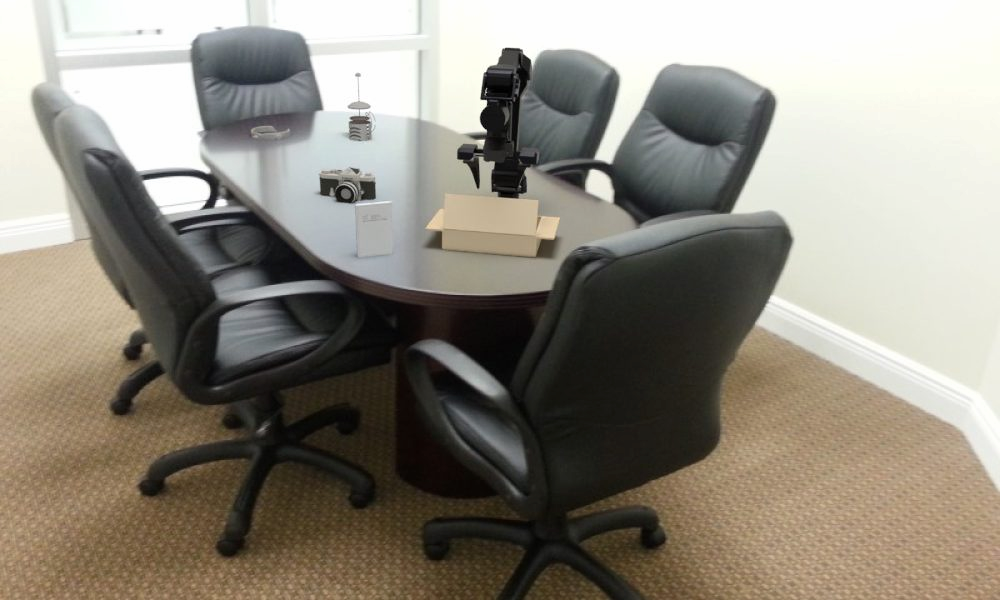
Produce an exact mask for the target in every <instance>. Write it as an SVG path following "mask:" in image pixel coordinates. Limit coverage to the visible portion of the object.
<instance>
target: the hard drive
mask: <svg viewBox="0 0 1000 600" xmlns="http://www.w3.org/2000/svg"><path fill="white" fill-rule="evenodd" d="M354 209H355V210H354V211H355V213H354V214H355V231H356V234H355V235H356V254H357V255H356V256H357V258H367V257H375V256H382V255H392V254H394V230H393V228H394V227H393V201H392V200H382V201H372V202H371V201H370V202H359V203H355V204H354Z"/></svg>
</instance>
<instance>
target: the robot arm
mask: <svg viewBox="0 0 1000 600" xmlns="http://www.w3.org/2000/svg"><path fill="white" fill-rule="evenodd" d="M482 74H483V76H482V82H481V83H482V84H481V91H480V97H479V99H480V101H486V106H485V107H484V108H483V109H482V110H481V113H480V115H479V122H480V125H481V127H483V128H484V130H485V131H486V137H485V140H484V142H483V147H482V148H479V146H478V144H474V143H463V144H462V145H460V147H459V148H458V149H457V151H456V159H457V160H459V161H462V164H464V165H465V164H466V166H468V168H469V169H470V171H471V173H472V176H473V180H474V182H475V186H476V189H477V190H479V189H480V187H481V175H480V172H481V171H480V157H482V159H483V161H484V162H485V163H490V162H494V164H493V165H494V166H493V169H491V174H490V183H491V184H490V185H491V193H497V197H500V198H514V199H520V195H524V194H526V193H527V192H528V178H527V176H526V170H527V169H528V168H532V166H534V165H537V164H538V161H540V150H539V148H537V147H525V146H524V147H522V148H521V150H519V141H520V125H521V113H522V102H523V100H522V99H523V97H524V95H525V94H526V93H527V92H528V91H527V90H528V89H529V87H530V82H531V81H532V78H533V65H532V59H531V58H529V57H528V56H527V55H525V54H524V49H521V48H520V47H504V48H502V50H501V55H500V56H499V57H498V60H497V63H496V64H493V65H489V66H488V67H487V68H486V70H485V72H484V71H483V73H482Z"/></svg>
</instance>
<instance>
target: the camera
mask: <svg viewBox="0 0 1000 600" xmlns="http://www.w3.org/2000/svg"><path fill="white" fill-rule="evenodd" d="M318 175H319V187H320V188H319V189H320V196H323V197H331V198H334V197H335V199H336V200H337V202H338V203H343V204H353V203H355V201H361V200H364V201H374V200H375V199H376V198H377V195H376V193H377V191H376V189H377V188H376V183H377V182H376V176H375V175H374V174H372V172H369V171H366V172H365V174H364V173H363V171H362V170H360V168H355V167H350V166H349V167H347V168H346V169H344V170H342V169H336V168H332V169H331V168H330V169H329V168H324V169H323V168H322V169H321V172H319V173H318Z"/></svg>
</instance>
